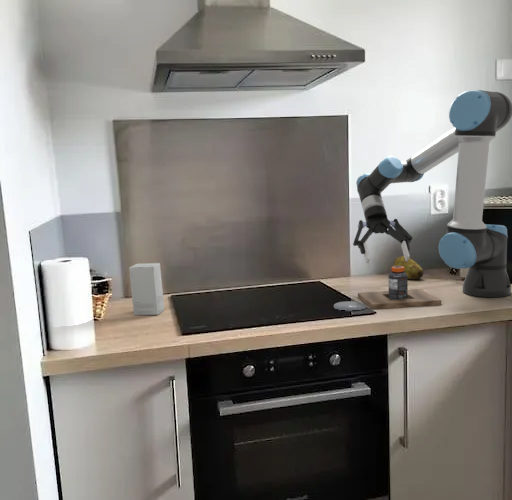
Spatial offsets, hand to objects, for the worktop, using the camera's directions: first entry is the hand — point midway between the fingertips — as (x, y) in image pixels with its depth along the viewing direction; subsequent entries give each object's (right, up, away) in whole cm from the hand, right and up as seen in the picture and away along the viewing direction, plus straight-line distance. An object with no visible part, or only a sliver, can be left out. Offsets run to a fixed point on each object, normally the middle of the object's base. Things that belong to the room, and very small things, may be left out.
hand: (388, 259), depth 188 cm
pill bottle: (+2, -13, -6) cm, 15 cm away
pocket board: (+2, -13, -6) cm, 15 cm away
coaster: (-15, -15, -11) cm, 24 cm away
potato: (+14, -8, +29) cm, 33 cm away
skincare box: (-78, -17, -9) cm, 80 cm away
